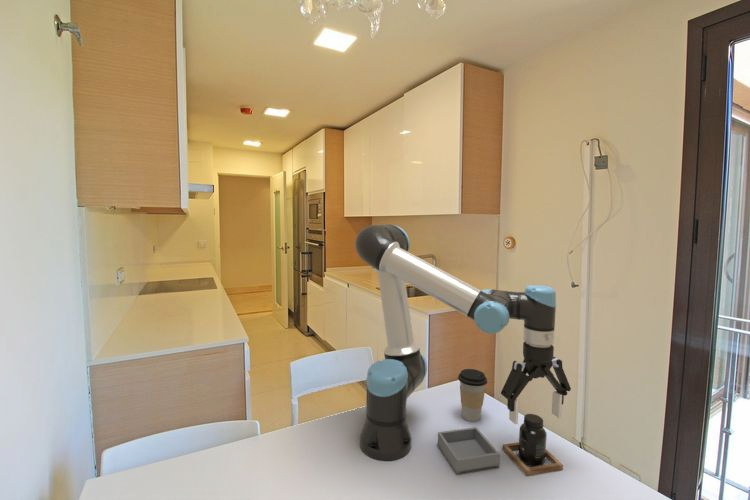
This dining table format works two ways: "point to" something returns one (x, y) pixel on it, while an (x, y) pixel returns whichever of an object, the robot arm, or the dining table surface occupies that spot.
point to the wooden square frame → (537, 469)
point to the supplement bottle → (532, 441)
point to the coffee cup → (472, 393)
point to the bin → (468, 450)
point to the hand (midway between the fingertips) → (535, 418)
